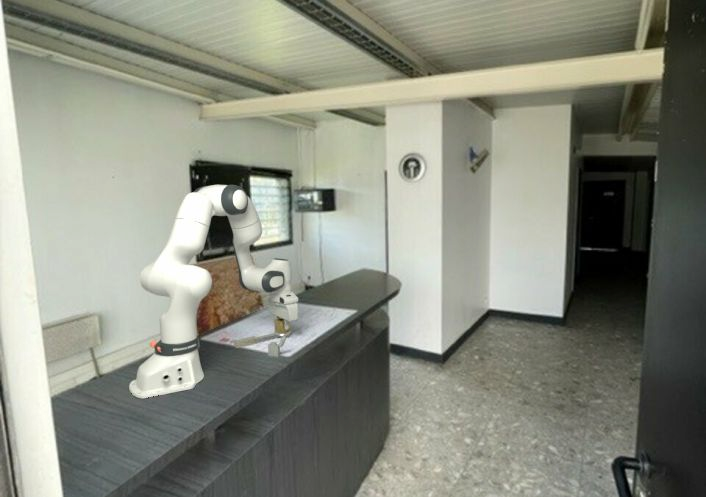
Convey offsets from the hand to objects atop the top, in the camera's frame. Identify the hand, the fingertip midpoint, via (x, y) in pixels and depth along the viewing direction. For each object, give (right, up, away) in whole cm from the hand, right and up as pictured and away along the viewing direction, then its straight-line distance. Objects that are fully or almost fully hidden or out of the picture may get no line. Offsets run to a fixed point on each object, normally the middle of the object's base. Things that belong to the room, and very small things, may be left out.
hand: (282, 326), depth 186 cm
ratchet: (-7, -5, -5) cm, 10 cm away
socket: (0, -2, 0) cm, 2 cm away
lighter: (+2, -7, -22) cm, 23 cm away
